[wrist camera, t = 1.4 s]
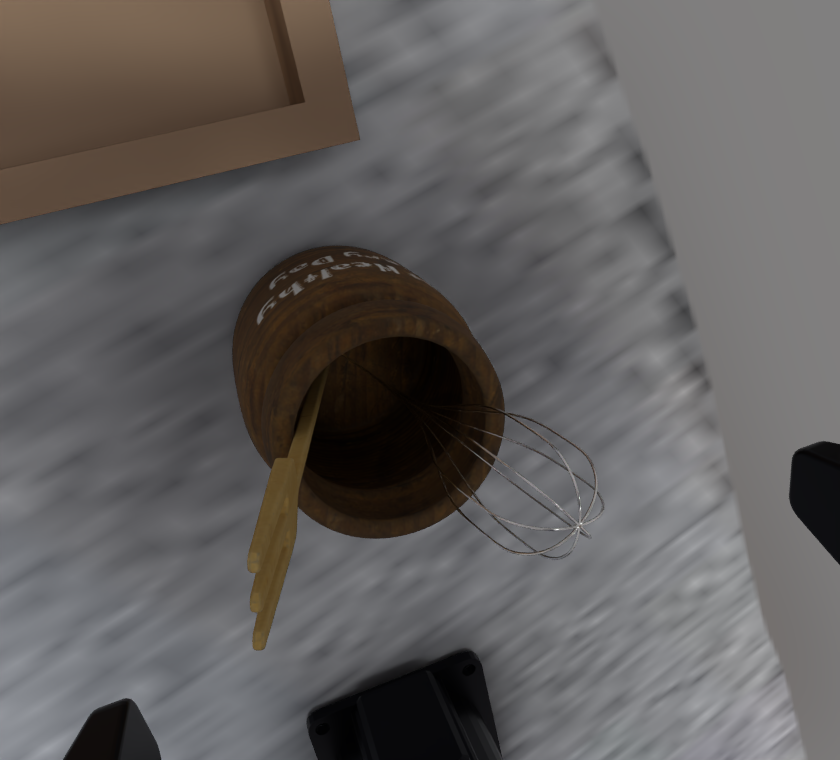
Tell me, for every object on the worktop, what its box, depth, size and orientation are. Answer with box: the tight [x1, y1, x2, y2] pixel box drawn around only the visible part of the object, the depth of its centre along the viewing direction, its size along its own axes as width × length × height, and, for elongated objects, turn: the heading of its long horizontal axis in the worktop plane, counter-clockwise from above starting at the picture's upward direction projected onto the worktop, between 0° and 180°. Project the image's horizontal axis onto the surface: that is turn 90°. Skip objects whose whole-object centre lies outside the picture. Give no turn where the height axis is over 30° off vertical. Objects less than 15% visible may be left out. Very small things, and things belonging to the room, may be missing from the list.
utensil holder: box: [232, 246, 604, 650], centre depth 16 cm, size 6×6×12 cm
